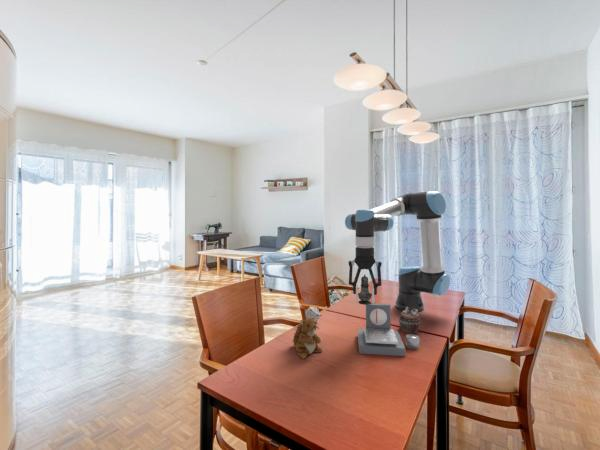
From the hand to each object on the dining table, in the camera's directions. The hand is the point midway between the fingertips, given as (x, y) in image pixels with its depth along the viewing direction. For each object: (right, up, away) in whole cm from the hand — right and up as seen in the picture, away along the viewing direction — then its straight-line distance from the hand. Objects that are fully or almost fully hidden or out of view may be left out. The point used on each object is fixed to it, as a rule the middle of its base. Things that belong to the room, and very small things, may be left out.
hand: (364, 301), depth 122 cm
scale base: (+5, -17, -3) cm, 18 cm away
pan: (+5, -14, -5) cm, 15 cm away
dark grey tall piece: (0, -1, 0) cm, 1 cm away
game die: (-21, -16, +23) cm, 35 cm away
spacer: (+18, -17, -4) cm, 25 cm away
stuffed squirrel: (-25, -18, -6) cm, 31 cm away
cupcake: (+23, -16, +13) cm, 31 cm away
